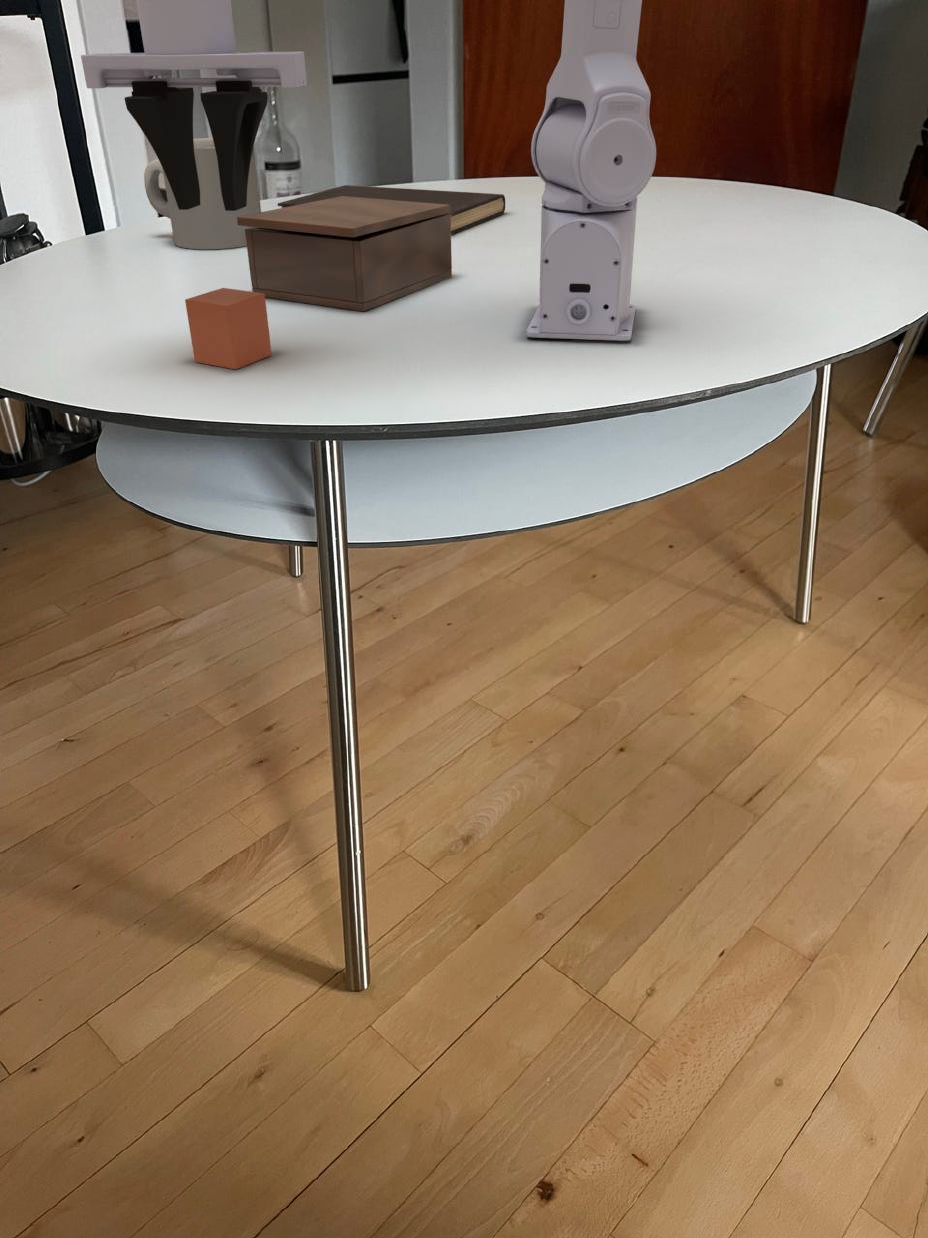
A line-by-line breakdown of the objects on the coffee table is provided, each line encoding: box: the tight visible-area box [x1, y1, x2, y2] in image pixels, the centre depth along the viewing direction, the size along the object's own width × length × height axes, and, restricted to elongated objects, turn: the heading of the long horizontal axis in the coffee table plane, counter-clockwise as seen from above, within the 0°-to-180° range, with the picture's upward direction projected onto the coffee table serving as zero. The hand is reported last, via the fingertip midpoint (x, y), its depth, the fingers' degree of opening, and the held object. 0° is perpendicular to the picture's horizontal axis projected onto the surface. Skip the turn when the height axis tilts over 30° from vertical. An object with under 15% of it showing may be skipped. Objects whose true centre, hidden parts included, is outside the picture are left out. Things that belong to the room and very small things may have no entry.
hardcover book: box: [277, 184, 506, 236], centre depth 121 cm, size 16×23×2 cm
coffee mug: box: [143, 137, 262, 250], centre depth 110 cm, size 13×10×10 cm
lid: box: [237, 196, 451, 237], centre depth 88 cm, size 15×12×1 cm
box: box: [245, 213, 453, 312], centre depth 90 cm, size 14×12×6 cm
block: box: [184, 287, 273, 370], centre depth 72 cm, size 4×4×4 cm
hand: (212, 207), depth 68 cm, fingers open, 3 cm apart
